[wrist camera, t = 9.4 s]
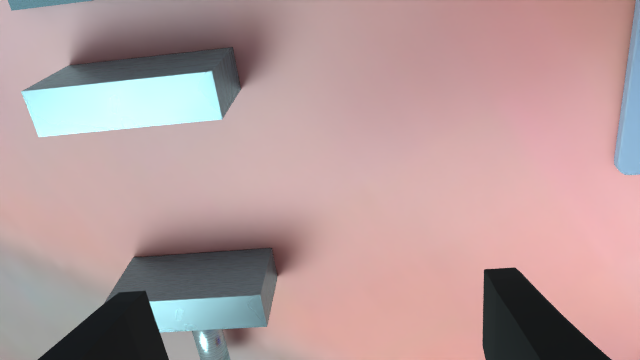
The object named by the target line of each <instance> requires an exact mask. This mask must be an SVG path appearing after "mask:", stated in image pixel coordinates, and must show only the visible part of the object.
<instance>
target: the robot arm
mask: <svg viewBox="0 0 640 360" xmlns="http://www.w3.org/2000/svg"><path fill="white" fill-rule="evenodd" d="M614 165H615V166H616V168H617V169H618V170H619V171H620V172H621V173H623V174H625V175H638V174H640V0H636V4H635V11H634V18H633V26H632V33H631V40H630V47H629V55H628V62H627V69H626V76H625V84H624V91H623V98H622V105H621V113H620V120H619V127H618V135H617V142H616V149H615V156H614ZM483 349H484V354H485V358H486V360H611V359H610V358H609V357H608V356H607V355H605V354H604V353H603V352H602V351H601V350H600V349H599V348H598V347H596V346H595V345H594V344H593V343H592V342H591V341H590V340H589V339H588V338H586V337H585V336H584V335H583V334H582V333H581V332H580V331H579V330H578V329H577V328H576V327H575V326H573V325H572V324H571V323H570V322H569V321H568V320H567V319H566V318H565V317H564V316H563V315H562V314H561V313H560V312H559V311H558V310H557V309H556V308H555V307H554V306H553V305H552V304H551V303H550V302H549V301H548V300H547V299H546V298H545V297H544V296H543V295H542V294H541V293H540V292H539V291H538V290H537V289H536V288H535V287H534V286H533V285H532V284H531V283H530V282H529V281H528V280H527V279H526V278H525V276H524V275H523V274H522V273H521V272H520V271H518V270H517V269H516V268H500V269H484V301H483ZM38 360H169V359H168V356H167V353H166V350H165V347H164V344H163V341H162V338H161V335H160V332H159V329H158V326H157V323H156V320H155V317H154V314H153V311H152V308H151V305H150V302H149V299H148V296H147V293H146V291H131V292H119V293H117V294H116V295H115V296H113V297H112V298H111V299H110V300H108V301H107V302H106V303H104V304H103V305H102V306H101V307H100V308H98V309H97V310H96V311H95V312H94V313H92V314H91V315H90V316H89V317H88V318H87V319H85V320H84V321H83V322H82V323H81V324H79V325H78V326H77V327H76V328H75V329H74V330H72V331H71V332H70V333H69V334H68V335H66V336H65V337H64V338H63V339H62V340H61V341H59V342H58V343H57V344H56V345H55V346H53V347H52V348H51V349H50V350H49V351H47V352H46V353H45V354H44V355H43V356H41V357H40V358H39V359H38Z"/></svg>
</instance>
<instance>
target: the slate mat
mask: <svg viewBox="0 0 640 360" xmlns="http://www.w3.org/2000/svg"><path fill="white" fill-rule="evenodd" d="M84 1H92V0H8V2H9V5H10V7H11V10H20V9H28V8H36V7H44V6H52V5H60V4H68V3H76V2H84Z"/></svg>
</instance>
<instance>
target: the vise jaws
mask: <svg viewBox="0 0 640 360" xmlns="http://www.w3.org/2000/svg"><path fill="white" fill-rule="evenodd" d="M240 90H241V87H240V82H239V77H238V72H237V67H236V62H235V57H234V51H233V47H231V48H222V49H213V50H204V51H195V52H186V53H177V54H168V55H159V56H150V57H141V58H132V59H123V60H114V61H105V62H96V63H87V64H78V65H69V66H67V67H65V68H63V69H61V70H59V71H58V72H56V73H54V74H52V75H50V76H49V77H47V78H45V79H43V80H41V81H40V82H38V83H36V84H34V85H32V86H31V87H29V88H27V89H25V90H23V91H22V95H23V97H24V100H25V102H26V105H27V108H28V110H29V113H30V115H31V118H32V121H33V123H34V126H35V128H36V131H37V133H38V136H39V137H44V136H54V135H65V134H75V133H85V132H96V131H106V130H116V129H127V128H137V127H147V126H158V125H168V124H178V123H189V122H199V121H209V120H220V119H223V117H224V116H225V114H226V112H227V111H228V109H229V108H230V106H231V104H232V103H233V101H234V100H235V98H236V96H237V95H238V93H239V92H240ZM276 282H277V272H276V267H275V262H274V257H273V252H272V248H265V249H250V250H236V251H221V252H207V253H193V254H178V255H164V256H149V257H135V258H133V259H132V260H131V262H130V263H129V265H128V266H127V268H126V270H125V271H124V273H123V274H122V276H121V278H120V279H119V281H118V282H117V284H116V285H115V287H114V289H113V290H112V292H111V293H110V295H109V297H108V298H107V300H106V301H105V303H106V302H107V301H108V300H110V299H111V298H112V297H113V296H115V295H116V294H117V293H119V292H131V291H146V293H147V296H148V299H149V302H150V305H151V308H152V311H153V314H154V317H155V320H156V323H157V326H158V329H159V332H176V331H192V333H193V336H194V340H195V343H196V346H197V350H198V353H199V356H200V360H230V356H229V352H228V348H227V345H226V341H225V337H224V333H223V330H222V329H232V328H251V327H267V325H268V320H269V315H270V311H271V306H272V301H273V296H274V291H275V287H276Z"/></svg>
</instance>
